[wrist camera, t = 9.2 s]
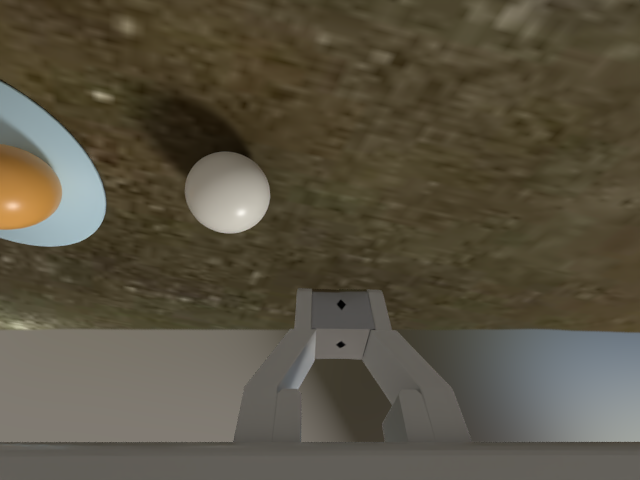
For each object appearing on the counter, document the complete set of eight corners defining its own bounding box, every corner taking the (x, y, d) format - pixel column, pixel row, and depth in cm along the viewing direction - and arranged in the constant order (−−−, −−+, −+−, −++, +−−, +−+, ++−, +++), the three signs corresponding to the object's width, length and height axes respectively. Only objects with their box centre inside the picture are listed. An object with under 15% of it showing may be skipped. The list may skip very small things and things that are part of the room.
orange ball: (-135, 148, 14) (-14, 120, 18) (-67, 231, 17) (21, 191, 21) (-24, 181, 14) (69, 146, 18) (22, 256, 17) (91, 212, 22)
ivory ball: (172, 172, 14) (185, 134, 18) (184, 250, 17) (193, 203, 21) (278, 179, 16) (268, 142, 20) (270, 249, 19) (263, 206, 23)
